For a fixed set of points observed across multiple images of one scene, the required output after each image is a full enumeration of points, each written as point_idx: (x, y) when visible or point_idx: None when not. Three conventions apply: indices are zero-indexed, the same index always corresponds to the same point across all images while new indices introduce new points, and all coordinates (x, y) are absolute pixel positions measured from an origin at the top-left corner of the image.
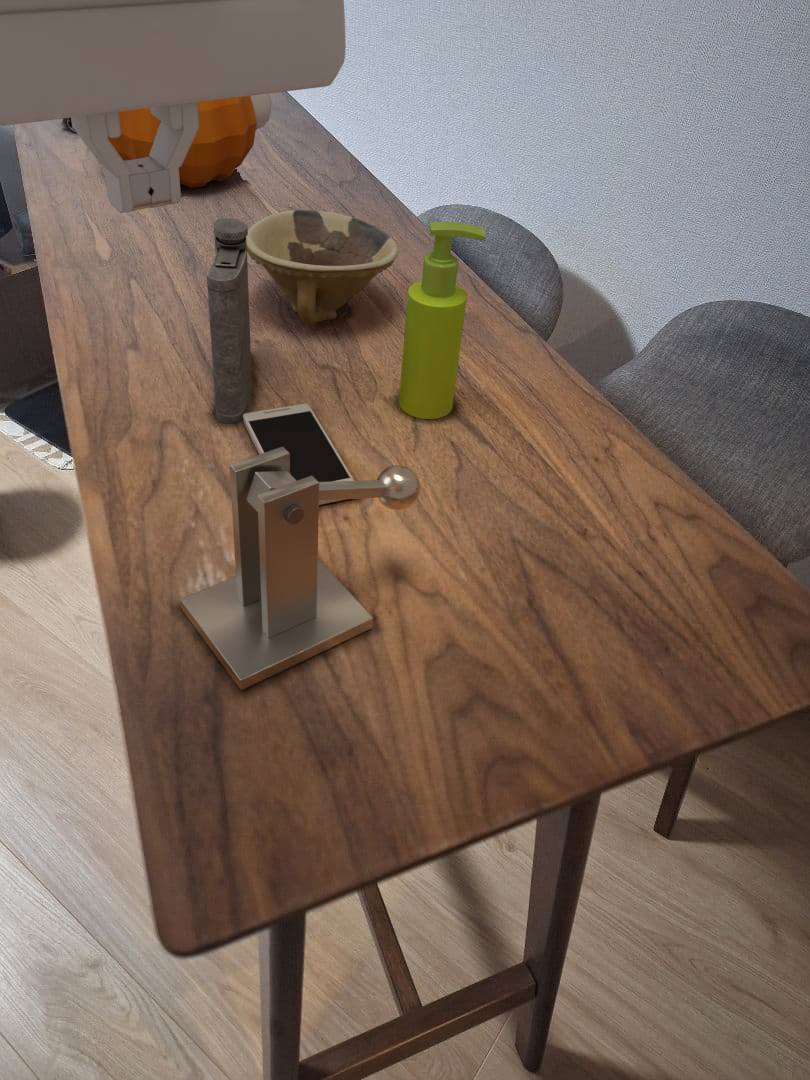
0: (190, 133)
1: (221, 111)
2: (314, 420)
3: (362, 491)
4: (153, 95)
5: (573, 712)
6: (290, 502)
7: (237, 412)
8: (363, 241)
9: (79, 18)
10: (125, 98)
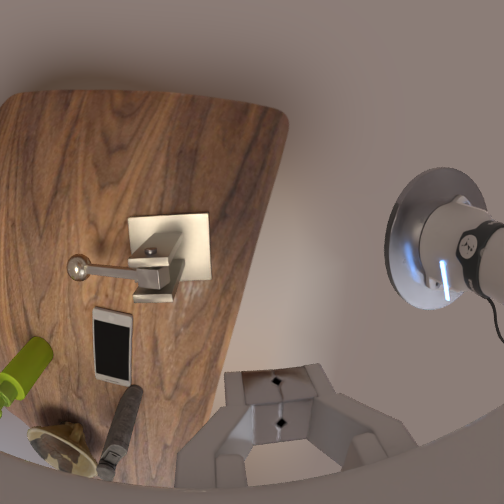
0: (197, 446)
1: None
2: (96, 366)
3: (100, 266)
4: (314, 496)
5: (80, 124)
6: (150, 255)
7: (132, 388)
8: (42, 447)
9: None
10: (384, 478)
